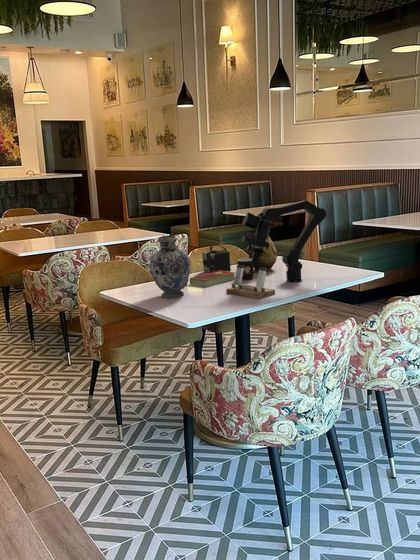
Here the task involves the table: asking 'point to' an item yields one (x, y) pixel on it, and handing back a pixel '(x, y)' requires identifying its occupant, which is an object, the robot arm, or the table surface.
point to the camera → (216, 260)
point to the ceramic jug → (266, 256)
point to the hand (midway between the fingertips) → (252, 263)
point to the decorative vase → (170, 267)
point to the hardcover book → (212, 278)
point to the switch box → (250, 291)
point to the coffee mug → (247, 268)
